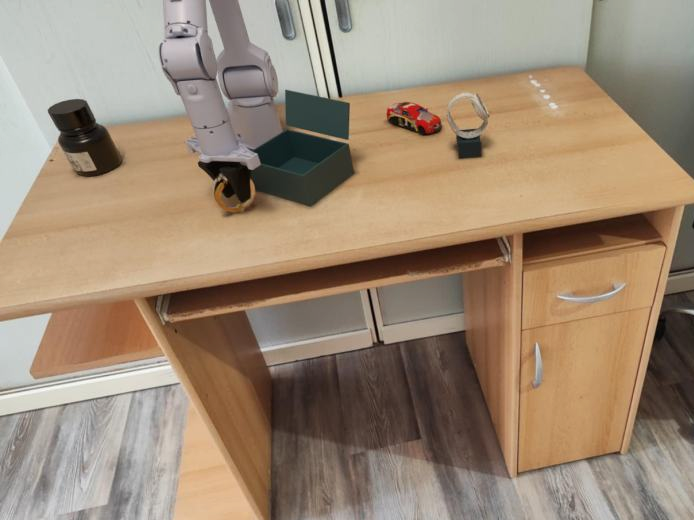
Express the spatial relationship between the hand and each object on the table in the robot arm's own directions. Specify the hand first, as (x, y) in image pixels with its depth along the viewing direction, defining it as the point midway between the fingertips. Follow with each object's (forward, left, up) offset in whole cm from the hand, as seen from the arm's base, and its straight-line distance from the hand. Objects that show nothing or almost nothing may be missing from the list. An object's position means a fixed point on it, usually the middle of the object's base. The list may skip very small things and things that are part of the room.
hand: (238, 197), depth 100 cm
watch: (+26, +36, -3) cm, 44 cm away
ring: (0, 0, -3) cm, 3 cm away
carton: (+3, +13, -2) cm, 13 cm away
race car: (+10, +41, -3) cm, 42 cm away
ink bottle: (-39, 0, -3) cm, 39 cm away
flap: (+3, +20, +7) cm, 21 cm away
